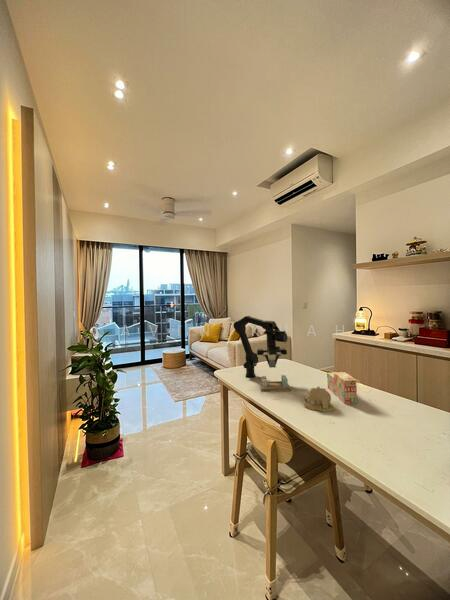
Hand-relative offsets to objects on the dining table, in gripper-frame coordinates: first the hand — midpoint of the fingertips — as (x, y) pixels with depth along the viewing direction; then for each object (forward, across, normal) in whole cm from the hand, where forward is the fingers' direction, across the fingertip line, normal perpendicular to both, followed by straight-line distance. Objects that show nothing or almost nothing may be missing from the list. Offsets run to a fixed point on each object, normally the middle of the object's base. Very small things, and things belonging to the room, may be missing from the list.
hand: (272, 364), depth 161 cm
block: (+1, 0, 0) cm, 1 cm away
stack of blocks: (+11, +34, -23) cm, 43 cm away
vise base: (+10, 0, -11) cm, 15 cm away
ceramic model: (+11, +18, -37) cm, 42 cm away
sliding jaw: (+9, +6, -11) cm, 15 cm away
